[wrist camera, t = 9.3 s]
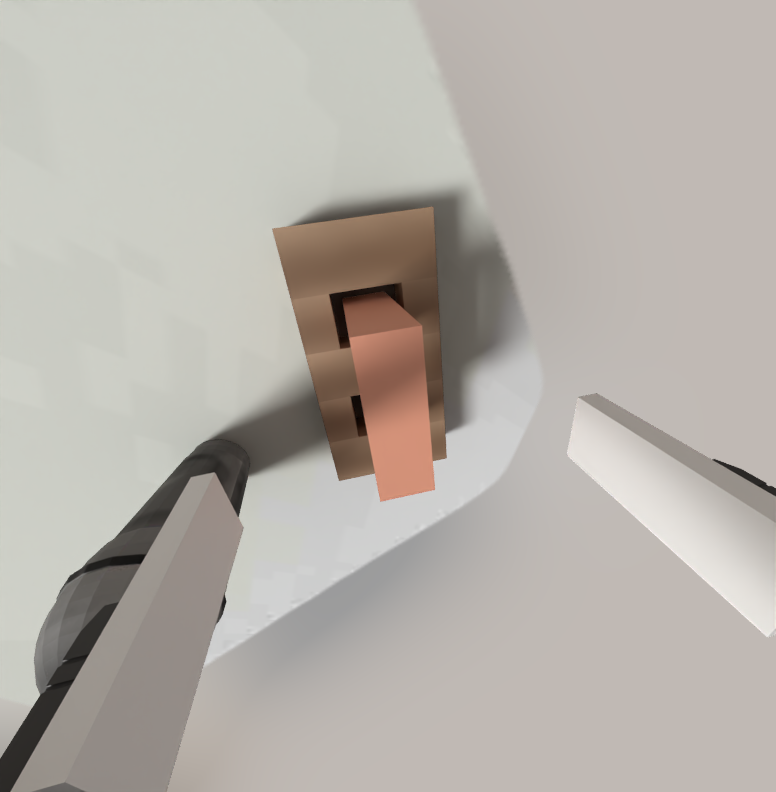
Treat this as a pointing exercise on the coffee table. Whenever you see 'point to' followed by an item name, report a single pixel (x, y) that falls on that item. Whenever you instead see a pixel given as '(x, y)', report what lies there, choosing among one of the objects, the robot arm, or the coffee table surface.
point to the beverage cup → (131, 553)
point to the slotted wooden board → (350, 270)
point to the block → (392, 392)
